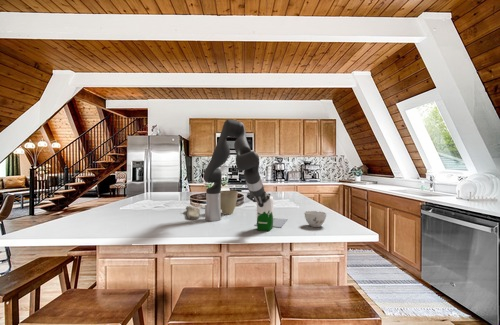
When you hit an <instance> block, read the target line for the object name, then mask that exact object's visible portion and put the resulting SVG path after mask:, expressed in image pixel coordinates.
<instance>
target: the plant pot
mask: <svg viewBox="0 0 500 325" xmlns="http://www.w3.org/2000/svg"><path fill="white" fill-rule="evenodd" d="M238 194H239V191H237V190H221V213H222V214H223V215H232V214H234V210H235V208H236V206H237V201H238Z"/></svg>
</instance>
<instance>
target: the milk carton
mask: <svg viewBox="0 0 500 325" xmlns="http://www.w3.org/2000/svg"><path fill="white" fill-rule="evenodd" d="M264 198H265V196H264V197H263V199H264ZM273 218H274V196H270V199H269V200H268V201H267V202H265V203H264V206H263V207H260V206H258V203H257V202H256V223H257V226H256V228H257V229H256V230H257V231H265V232H270V231H271V230H272V229H274V227H273Z"/></svg>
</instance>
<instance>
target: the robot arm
mask: <svg viewBox="0 0 500 325" xmlns="http://www.w3.org/2000/svg"><path fill="white" fill-rule="evenodd" d="M227 138H233V139H235V141H234V144H233V148H234V150H235V154H236V155H235V166H236V168H237V169H238V170H239V171H243V175H244V179H245V181H246V186H247V189H248V192H247V194H246V198H247V199H248V200H250V201H251V202H253V203H256V204H257V203H258V206H260V207H263V206H264V203H265V202H267V201H268V200H269V199H270V197H271V193H267V191H265V186H264V183H263V180H262V177H261V175H260V172H259V171H260V170H259V167H260V156H259V155H258V154H259V153H257V152H256V151H254V150H251V147H250V145H249V141H248V140H247V132H246V128H245V124H244V123H243V122H242V121H239V120H235V119H234V120H233V119H229V118H228V119H226V120H225V121H224V123H223V125H222V129H221V131H220V135H219V138H218V140H217V143H216V146H215V148H214V150H213V152H212V155H211V157H210V160H209V162H208V164H207V166H206V168H205V170H204V172H203V180H204V182H205V183H207V184H208V183H209V184H211V183H213V185H212V186H210V187H207V188H206V190H205V191H206V192H205V195H206V196H205V198H206V199H205V200H206V202H205V205H204V220H205V221H209V222H215V221H217V222H218V221H220V220H221V219H222V217H221V215H222V214H221V213H222V210H221V191H222V179H223V178H222V177H223V176H222V171H221V169H220V167H222V165H224V164H225V163H226V162H227V160H228V158H230V154H231V151H230V150H231V149H230V147H229V144H228V142H227ZM264 196H265V198H264V199H263V197H264Z"/></svg>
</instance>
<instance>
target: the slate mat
mask: <svg viewBox="0 0 500 325" xmlns="http://www.w3.org/2000/svg"><path fill="white" fill-rule="evenodd" d="M286 222H288V219H287V218H275V217H273V228H276V229H277V228H278V229H279V228H280V229H281V228H282V227H283V226H284V225H285V223H286ZM254 226H255V227H257V222H256V223H255V224H254Z"/></svg>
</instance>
